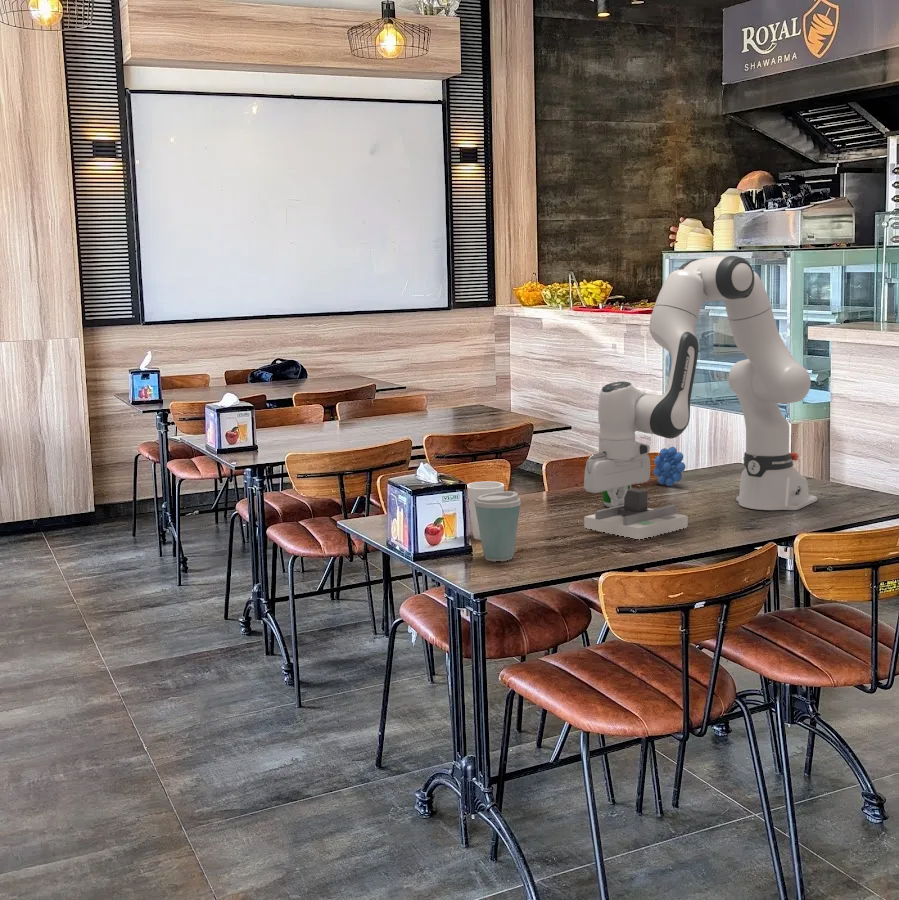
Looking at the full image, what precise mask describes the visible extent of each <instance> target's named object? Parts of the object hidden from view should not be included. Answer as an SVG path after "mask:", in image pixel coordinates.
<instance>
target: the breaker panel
mask: <svg viewBox="0 0 899 900" xmlns="http://www.w3.org/2000/svg"><path fill="white" fill-rule="evenodd" d="M648 505H649V504H648V499H647V509H649V511H645V512H641V513H637V514H633V515H629V516H625V515H620V514H618V509H622V508H624V504H623V505H619V506H615V507H611V508H607V507H606V508H602V509H600V510H599V509H598V510H595V512H594V514H589V515H585V516H584V518H583V519H584V522H583V523H584V529H586V528H587V529H586V530H590V529H592V531H595V530H596V531H595V532H600V533H603V532H605V533H604V534H608V533H609V535H612V534H615V535H614V536H617V535H619V536H618V537H621V536H624V537H623V538H626V537H630V538H634V539H639V540H638V541H641V540H640V539H643V540H645V539H644V538H647V539H649V538H648V537H651V538H654V537H658V536H661V535H660V534H662V535H665V534H664V533H666V534H669V533H673V532H676V530H677V531H680V530H679V529H681V530H683V528H684V529H688V528H687V527H688V526H689V525H688V523H689V522H688V521H689V520H688V519H689V517H688V515H686V514H681V513H677V512H676V509H677V506H676V505H674V504H670V505H666V506H662V507H658V508H649V507H648ZM672 531H673V532H672ZM668 532H669V533H668ZM657 535H658V536H657ZM653 536H654V537H653ZM630 538H629V539H630ZM634 539H633V540H634Z"/></svg>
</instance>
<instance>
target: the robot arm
mask: <svg viewBox="0 0 899 900" xmlns="http://www.w3.org/2000/svg"><path fill="white" fill-rule="evenodd" d="M718 301H722V302H723V303H724V306H725V311H726V315H727V319H728V322H729V326H730V330H731V332H732V334H731V335H732V337H733V340H734V344H735V346H736V348H737V349H738V350H739V351H740V352H741V353H742V354H744V355H745V357H747V358H746V359H743V360H739V361H737V362H735V363H734V364H733V365H732V367H731V368H730V369H729V373H728V376H727V377H728V379H727V381H728V384H729V388H730V389H731V391H732V392H733V393H734V394H735V396H736V398H737V399H738V401H739V404H740V407H741V411H742V414H743V418H744V423H745V452H744V454H743V466H744V469H743V470H742V471H741V474H740V475H741V476H740V484H739V492H738V493H739V495H737V496H736V497H735V498H736V499H735V500H736V502H738V505H739V506H740V507H743V508H747V509H752V510H758V511H759V510H760V511H782V510H783V511H797V510H800V509H802V508H805V507H806V506H809V505H811V504H813V503H815V502H817V501H818V497H817V496H815V495H812V494H809V484H808V480H807V478H806V477H805V476H804V475H803V474H801V472H799V471H798V470H797V469H796V468H795V467H794V464H793V461H798V459H799V453H798V452H790V424H789V422H788V420H787V419H786V418H785V416H784V415H783V413H782V411H781V410H780V407H779V404H781V405H782V404H783V405H784V404H792V403H793V404H794V403H797V402H801V401H802V400H803V399H805V398H806V397H807V395H808V394H809V391H810V389H811V386H812V385H811V384H812V383H811V375H810V373H809V371H808V370H807V369H806V368H805V367H803V366H802V365H801V364H800V363H799V362H798V361H797V360H796V359H795V358H794V356H793V354H791V352H790V350H789V349H788V348H787V346H786V344H785V342H784V340H783V338H782V336H781V335H780V333H779V332H780V331H779V329H778V326H777V323H776V320H775V319H776V318H775V316H774V312H773V309H772V305H771V302H770V299H769V296H768V293H767V291H766V288H765V286H764V284H763V282H762V279H761V278H760V276H759V274H758V273H757V272H756V271H754V269H753V267H752V265H751V263H750V262H749V261H748V260H747V259H745V258H743V257H741V256H737V255H728V256H727V255H724V256H723V255H722V256H721V255H720V256H719V255H715V256H713V255H712V256H708V257H705V258H700V259H696V258H695V259H692V260H688V261H686V262H684V263H683V264H682V265H680V267H678V269H676V270H674V271H672V272H670V273H669V274H668V275H667V277H666V279H665V281H664V283H663V284H662V285H661V289H660V290H659V293H658V295H657V297H656V300H655V303H654V306H653V309H652V312H651V314H650V319H649V323H648V325H649V327H648V328H649V329H648V330H649V333H650V336H651V337H652V339H653V340H654V341H655V343H656V344H657V345H659V346H660V347H662V348H663V349H665V350H666V351H667V352H668V353H669V355H670V356H671V367H670V373H669V379H668V383H667V389H666V391H665V393H663V394H655V393H654V394H653V393H647V392H645V391H642V390H640V389H638V388H636V387H635V386H633V384H632V383H631V382H628V381H615V382H613V381H612V382H610V383H608V384H605V385H603V386H602V387H601V390H600V393H599V398H598V407H597V412H598V413H597V417H598V418H597V419H598V423H599V424H598V425H599V434H598V452H597V453H592V454H590V456H589V457H588V459H586V465H585V468H584V479H583V488H584V490H585V492H588V493H593V494H597V493H603V491H607V493H608V495H609V497H610V498H611V505H612V506H618V505H623V504H624V497H625V495H626V493H627V490H628V486H629V485H631V486H632V485H638V484H642V483H646V482H648V481H649V479H650V477H651V460H650V459H651V458H650V456H649V453H650V452H651V449H650V448H651V446H650V445H649V444H646V443H643V442H638V441H636V432H639V433H644V434H650V435H655V436H659V437H661V438H666V439H670V440H671V439H675V438H678V437H679V436H681V434H682V433H684V431H685V430H686V429H687V427H688V425H689V423H690V418H691V399H692V391H693V387H694V380H695V374H696V371H697V370H696V368H697V363H698V357H699V341H698V338H697V337H696V325H697V323H698V322H697V321H698V319H699V315H700V311H701V309H702V308H701V307H702V304H703V303H704V302H718ZM617 489H618V490H619V492H618V495H616V493H617Z"/></svg>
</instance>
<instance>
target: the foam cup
mask: <svg viewBox="0 0 899 900" xmlns="http://www.w3.org/2000/svg"><path fill="white" fill-rule="evenodd" d="M466 485H467V489H468V499H469V506H468V511H469V510H470V512H469V516H470V522H471V529H472V530H471V531H472V536H473V539H475V540H478V541H481V537H480V531H479V525H478V519H477V514H476V508H475V505H474V501H475V500H476V499H477V497H479V496H480V495H484V494H488V493H495V492H505V484H504V483H503V482H500V481H487V480H486V481H474V482H469V483H467V484H466ZM468 499H467V500H468Z"/></svg>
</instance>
